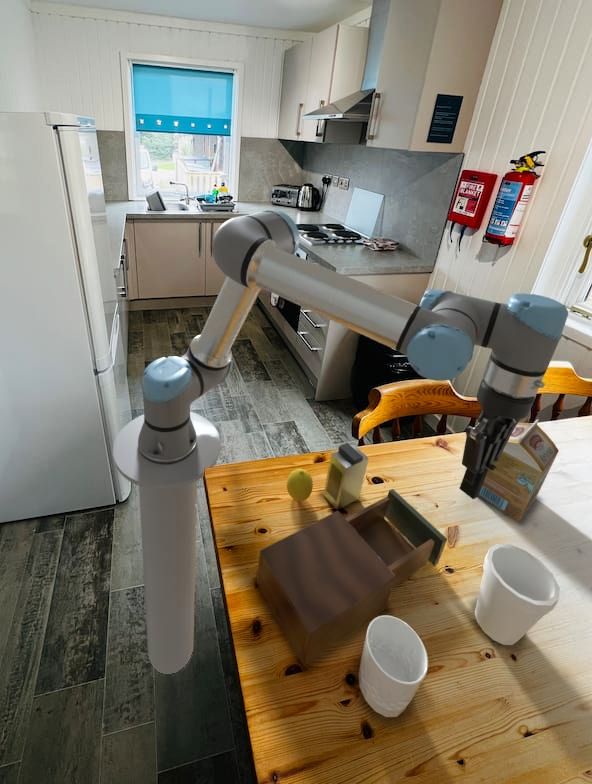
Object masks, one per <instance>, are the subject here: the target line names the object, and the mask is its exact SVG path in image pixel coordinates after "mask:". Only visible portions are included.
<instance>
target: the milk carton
mask: <svg viewBox="0 0 592 784" xmlns="http://www.w3.org/2000/svg"><path fill="white" fill-rule="evenodd" d="M538 424H539V419H538V418H537V419H536V420H535V421H533V423H532V422H518V424H517V425H516V427H515V428H514V430H513V432H512V434H511V436H510V438H509V440H508V442H507V444H506V446H505V448H504V450H503V451H502V453H501V455H500V457H499V460H498V461H497V462H494V461H493V465H494V466H496V469H495V470H494V471H492V470H490V469H489V468H488V467H487V469H488V472H487V474H486V477H485V480H484V482H483V485H482V487H481V490H480V492H479V495H478V497H480V498H481V499H482V500H484V501H486V502H488V503H489V504H491V505H493V506H494V507H496V508H497V509H498V510H500V511H502V512H504V513H505V514H506V515H508V516H509V517H511V518H512V519H514V520H516V521H517V522H520V521H522V519H523V518H524V516H525V514H526V513H527V512H528V510H529V509H530V508H531V506H532V504H533V503H534V501H535V500H536V499H537V497H538V495H539V493H540V491H541V489H542V487H543V485H544V483H545V481H546V479H547V476H548V474H549V472H550V470H551V468H552V466H553V464H554V462H555V460H556V458H557V456H558V454H559V451H560V450H559V449H558V447H557V446H556V444H555V442H554V441H553V440H552V439H551V438H550V436H549V435H548V434H547V433H546V432H545V430H543V429H542V428H541V427H540V426H539V425H538Z"/></svg>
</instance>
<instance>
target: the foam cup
mask: <svg viewBox="0 0 592 784" xmlns="http://www.w3.org/2000/svg"><path fill="white" fill-rule="evenodd" d="M482 570H483V572H482V577H481V582H480V586H479V589H478V590H479V591H478V596H477V600H476V605H475V610H474V615H475V620H476V623H477V624H478V625H479V627H480V629H481V630H482V632H483V633H485V634H486V635H487V636H488V637H489V638H491V640H492V641H494V642H496V643H499V644H500V645H502V646H513V645H514V644H516V643H517V642H518V641H520V640H521V639H522V638H523V637H524V636H525V635H526V634H527V633H528V632H529V631H530V630H532V628H533V627H534V626H535V625H536V624H537V623H538V622H539V621H540V620H541V619H542V618H543V617H544V616H546V615H548V614H549V613H550V612H552V611H553V610H554V609H555V607H556V605H557V604H558V603H559V600H560V590H561V588H560V586H559V584H558V582H557V580H556V577H555V576H554V573H552V572H551V570H550V569H549V568H548V567H547V566H546V565H545V564H544V563H543V562H542V561H541V560H540V559H539V558H537V557H536V556H534V555H532V554H531V553H529V552H528V551H527V550H525V549H523V548H520V547H518V546H515V545H513V544H506V543H497V544H495V545H493V546H491V547H489V548H488V551H487V553H486V555H485V557H484V561H483V565H482Z"/></svg>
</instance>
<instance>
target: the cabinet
mask: <svg viewBox="0 0 592 784" xmlns="http://www.w3.org/2000/svg"><path fill="white" fill-rule="evenodd" d="M395 577H396V576H395V575H394V574H393V572H392V571H391V570H390V569H389V568H388V567H387V566H386V564H385V563H384V562H383V561H382V560H381V559H380V558H379V557H378V555H377V554H376V553H375V552H374V551H373V550H372V549H371V547H370V546H369V545H368V544H367V543H366V542H365V541H364V540H363V538H362V537H361V536H360V535H359V534H358V533H357V532H356V530H355V529H354V528H353V527H352V526H351V525H350V524H349V523H348V521H347V520H346V519H345V517H344V515H343V514H342V513H341V512H340V511H339V510H336V511H335V512H332V513H331V514H329V515H327V516H325V517H322V518H321V519H318V520H317V521H315V522H313V523H311V524H309V525H307V526H305V527H303V528H301V529H299V530H297V531H295V532H294V533H291V534H290V535H288V536H285V537H283V538H282V539H280V540H278V541H276V542H274V543H272V544H270V545H268V546H266V547H264V548H262V549H260V550H259V557H258V565H257V573H256V581H255V582H256V585H257V587H258V588H259V590H260V592H261V594H262V596H263V597H264V600H265V601H266V603H267V604H268V606H269V607H270V610H271V612H272V613H273V615H274V617H275V619H276V620H277V622H278V624H279V626H280V628H281V629H282V631H283V633H284V635H285V636H286V638H287V640H288V642H289V643H290V645H291V647H292V649H293V651H294V652H295V654H296V655H297V658H298V659H299V661H300V664H302V666H303V667H306V666H307V665H308V664H311V662H312V661H315V659H317V658H318V657H319V656H321V655H322V654H323V653H325V652H326V651H328V650H330V648H333V647H334V646H335V645H337V644H338V643H339V642H341V641H342V640H343V639H345V638H346V637H348V636H349V635H350V634H352V633H353V632H354V631H356V630H357V629H358V628H360V627H361V626H363V625H365V624H366V623H367V622H369V621H370V620H371V619H373V618H374V617H376V616H377V615H379V614H380V613H381V612H383V611H384V610H385V609H386V606H387V605H388V601H389V599H390V595H391V593H392V590H393V589H392V586H393V583H394V580H395Z"/></svg>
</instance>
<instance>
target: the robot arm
mask: <svg viewBox="0 0 592 784" xmlns="http://www.w3.org/2000/svg"><path fill="white" fill-rule="evenodd" d="M300 239H301V238H300V233H299V230H298V226H297V224H296V222H295V221H294V220H293V219H292V217H291V216H289V215H288V214H287V213H285V212H283V211H281V210H276V209H273V210H270V209H264V210H261V211H259V212H255V213H249V214H245V215H240V216H239V215H238V216H235V217H231V218H230V219H228V220H226V221H225V222H223V223H222V224H220V226H219V228H218V229H217V230H216V232H215V233H214V236H213V239H212V245H211V249H212V250H211V251H212V256H213V260H214V262H215V264H216V266H217V267H218V268H219V270H220V271H222V273H223V274H224V275H225V276H226V277H225V279H224V282H223V284H222V285H221V287H220V290H219V293H218V295H217V298H216V299H215V301H214V304H213V306H212V308H211V311H210V313H209V316H208V317H207V319H206V322H205V324H204V326H203V329H202V331H201V333H200V334H198V335H196V336H195V337H193V338H192V340H191V341H190V344H189V346H188V348H187V351H186V352H185V353H184V354H183V355H182V356H176V355H169V356H167V357H165V356H163V357H160V358H157V359H155V360H153V361H152V362H150V363H149V364H148V365H147V366H146V368H145V369H144V372H143V374H142V384H141V389H142V391H141V392H142V401H143V415H144V423H143V425H142V428H141V431H140V434H139V438H138V448H139V452H140V453H141V455H142V456H143V457H144V458H145V459H147V460H148V461H150V462H153V463H156V464H174V463H177V462H180V461H182V460H184V459H186V458H187V457H189V456H190V455H191V454H192V453H193V451H194V450H195V448H196V444H197V435H196V431H195V429H194V426H193V423H192V421H191V418H190V412H191V405H192V403H194V402H195V401H197V400H198V399H199V398H200V397H202V396H203V395H205V394H206V393H207V392H209V391H210V390H212V389H213V388H215V387H216V386H218V385H220V384H222V382H224V381H225V380H226V379H227V378H228V377H229V376H230V374H231V372H232V369H233V365H234V363H233V362H234V361H233V360H232V358H233V352H232V350H231V349H232V346H233V345H234V343H235V341H236V339H237V337H238V335H239V334H240V331H241V329H242V327H243V326H244V324H245V321H246V319H247V318H248V316H249V314H250V312H251V310H252V309H253V306H254V304H255V303H256V300H257V299H258V297H259V295H260V293H261V291H262V289H263V290H265V291H267V292H269V293H271V294H274V295H276V296H278V297H281V298H282V299H285V300H287V301H289V302H291V303H293V304H296V305H297V306H300V307H302V308H304V309H307V310H309V311H311V312H313V313H315V314H317V315H320V316H322V317H324V318H326V319H328V320H330V321H332V322H335V323H337V324H339V325H341V326H343V327H345V328H348V329H349V330H352V331H354V332H355V333H358V334H360V335H363V336H364V337H367V338H369V339H370V340H373V341H374V342H375V341H376V342H377V343H379V344H382V345H384V346H387V347H389V348H390V349H393V350H394V351H397V352H399V353H401V354H403V355H405V356H406V357H407V360H408V363H409V365H410V367H411V368H412V369H413V370H414V371H415V372H416V373H417V374H418V375H419V376H421V377H422V378H425V379H427V380H430V381H436V382H446V381H450V380H453V379H455V378H457V377H459V376H460V375H461V374H462V373H463V372H464V371H465V370H466V369H467V366H468V364H469V363H470V362H471V360H472V358H473V355H474V351H475V346H478V347H482V348H485V349H491V350H492V351H491V352H490V355H489V358H488V359H487V363H486V366H485V368H484V372H483V374H482V379H481V381H480V384H479V387H478V390H477V392H476V400H477V402H478V404H479V405H480V406H481V411H480V412H479V414H478V415H477V423H476V426H475V427H472V426H470V425H468V426H467V427H466V428H465V436H466V437H465V443H464V449H463V455H462V459H461V460H462V461H461V465H462V466H464V467H465V468H466V469H465V472H464V474H463V478H462V479H461V483H460V485H459V490H460V491H461V492H463V493H464V494H465V495H467V496H468V497H469V498H471V499H472V500H475V499H477V498H478V497H479V496H478V495H479V492H480V490H481V487H482V485H483V482H484V480H485V477H486V474H487V472H488V469H487V467H488V468H489V469H490V470H492V471H494V470H495V469H496V466H494V465H493V461H494V462H497V461H498V460H499V457H500V455H501V453H502V451H503V450H504V448H505V446H506V444H507V442H508V440H509V438H510V436H511V434H512V432H513V430H514V428H515V427H516V425H517V424H518V423H520V421H521V420H522V419H525V418H527V417H528V416H529V414H530V412H531V409H532V407H533V405H534V402H535V400H536V398H535V397H536V395H537V394H538V392H539V389H543V388H545V384H546V383H545V382H544V381H543V378H544V377H545V374H546V372H547V370H548V368H549V366H550V364H551V361H552V359H553V356H554V354H555V352H556V349H557V347H558V345H559V343H560V340H561V339H562V334H563V331H564V328H565V325H566V322H567V319H568V316H569V311H568V309H567V307H566V306H565V305H564V304H563V303H562V302H560V301H558V300H556V299H553V298H550V297H547V296H544V295H540V294H535V293H531V294H530V293H525V292H519V293H515V294H512V295H511V296H510V297H509V299H508V300H507V301H506V303H503V302H496V301H491V300H487V299H484V298H483V299H482V298H479V297H474V296H470V295H465V294H461V293H457V292H454V291H452V290H442V289H435V288H430V289H427V290H426V291H425V292H424V294H423V296H422V298H421V300H420V303H419V305H418V304H416V303H414V302H411V301H409V300H406V299H403V298H401V297H398V296H396V295H393V294H391V293H389V292H387V291H383V290H381V289H379V288H377V287H373V286H371V285H369V284H366V283H364V282H362V281H359V280H357V279H354V278H352V277H349V276H347V275H344V274H342V273H339V272H337V271H335V270H332V269H329V268H327V267H324V266H322V265H320V264H317V263H314V262H312V261H310V260H307V259H305V258H302V257H300V256H297V255H296V253H297V251H298V249H299V246H300V241H301V240H300Z"/></svg>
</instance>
